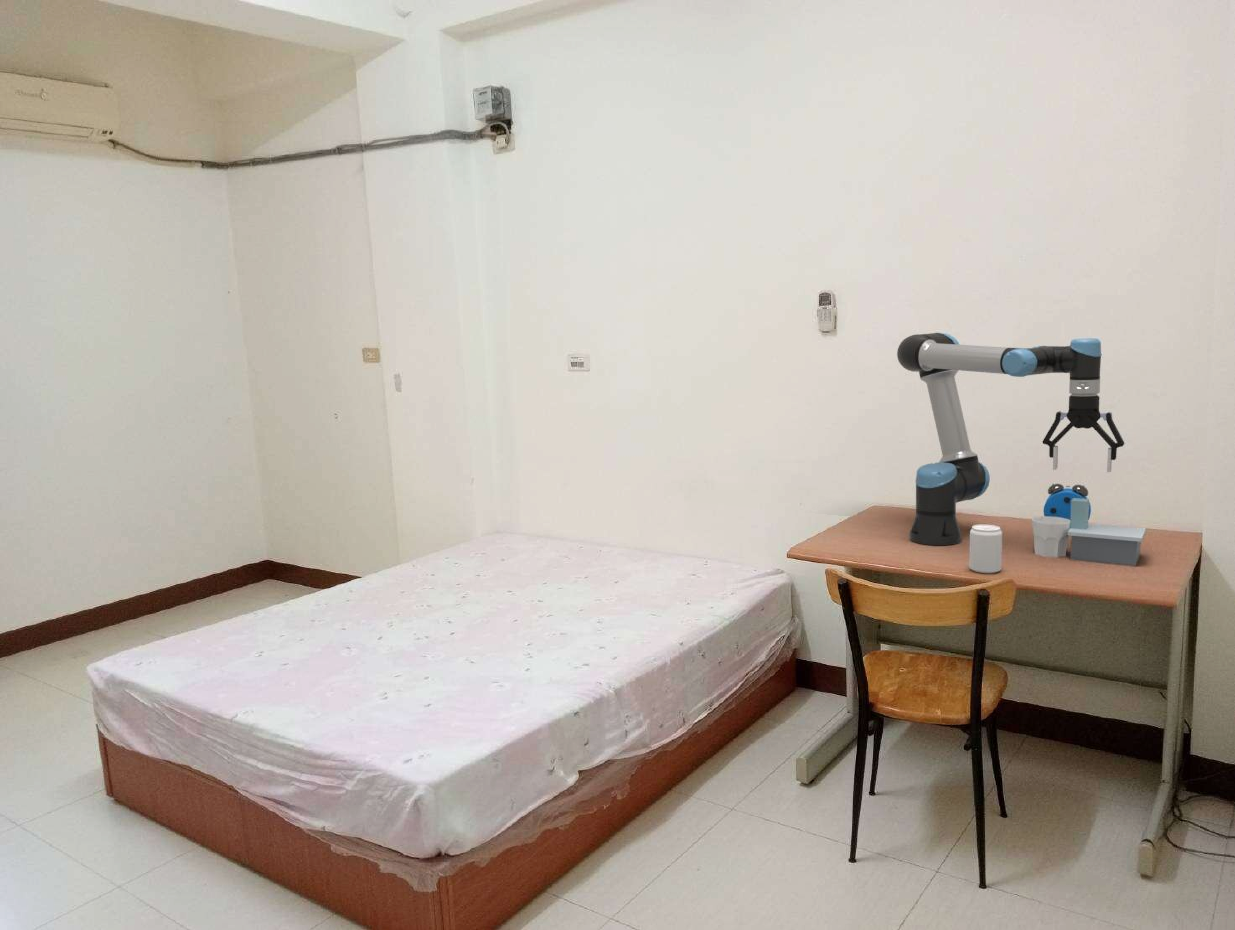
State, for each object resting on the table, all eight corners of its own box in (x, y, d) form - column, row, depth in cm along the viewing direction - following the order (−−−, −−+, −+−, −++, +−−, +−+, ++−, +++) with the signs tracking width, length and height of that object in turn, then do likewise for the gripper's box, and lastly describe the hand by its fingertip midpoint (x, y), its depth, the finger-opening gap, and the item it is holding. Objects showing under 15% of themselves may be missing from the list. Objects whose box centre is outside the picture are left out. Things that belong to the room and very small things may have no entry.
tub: (1070, 559, 253) (1071, 535, 252) (1076, 549, 263) (1077, 526, 262) (1135, 566, 244) (1137, 541, 243) (1140, 555, 254) (1141, 531, 253)
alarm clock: (1090, 530, 284) (1092, 483, 282) (1089, 534, 279) (1091, 487, 277) (1044, 527, 291) (1045, 481, 288) (1042, 531, 286) (1044, 484, 283)
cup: (1023, 552, 263) (1024, 519, 261) (1048, 547, 266) (1049, 515, 265) (1051, 560, 253) (1052, 525, 252) (1077, 555, 257) (1078, 521, 256)
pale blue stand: (1067, 535, 252) (1068, 503, 251) (1074, 525, 263) (1075, 495, 261) (1141, 541, 242) (1143, 508, 241) (1146, 531, 253) (1147, 499, 251)
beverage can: (963, 567, 250) (964, 525, 248) (992, 565, 251) (993, 523, 249) (977, 575, 242) (978, 531, 240) (1006, 573, 243) (1008, 529, 241)
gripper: (1032, 395, 254) (1031, 470, 258) (1134, 396, 240) (1131, 474, 243) (1037, 393, 260) (1036, 466, 264) (1137, 393, 246) (1134, 470, 250)
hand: (1081, 470), depth 254 cm, fingers open, 13 cm apart
